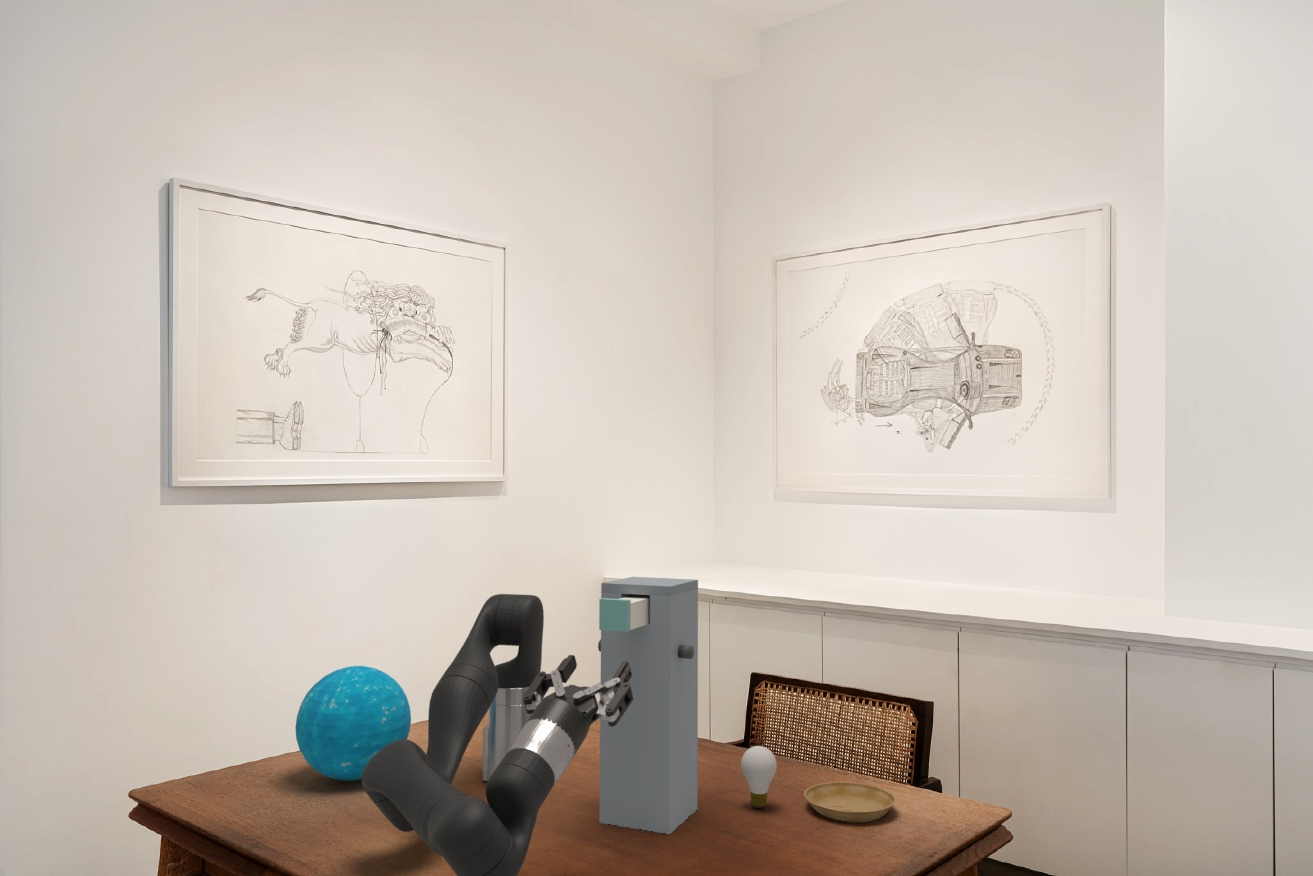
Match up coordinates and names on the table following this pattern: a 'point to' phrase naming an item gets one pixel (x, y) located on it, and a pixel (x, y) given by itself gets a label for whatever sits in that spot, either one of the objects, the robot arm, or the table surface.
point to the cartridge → (624, 613)
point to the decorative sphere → (350, 720)
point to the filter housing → (652, 710)
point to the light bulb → (758, 772)
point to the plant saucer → (850, 801)
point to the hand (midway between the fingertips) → (600, 663)
